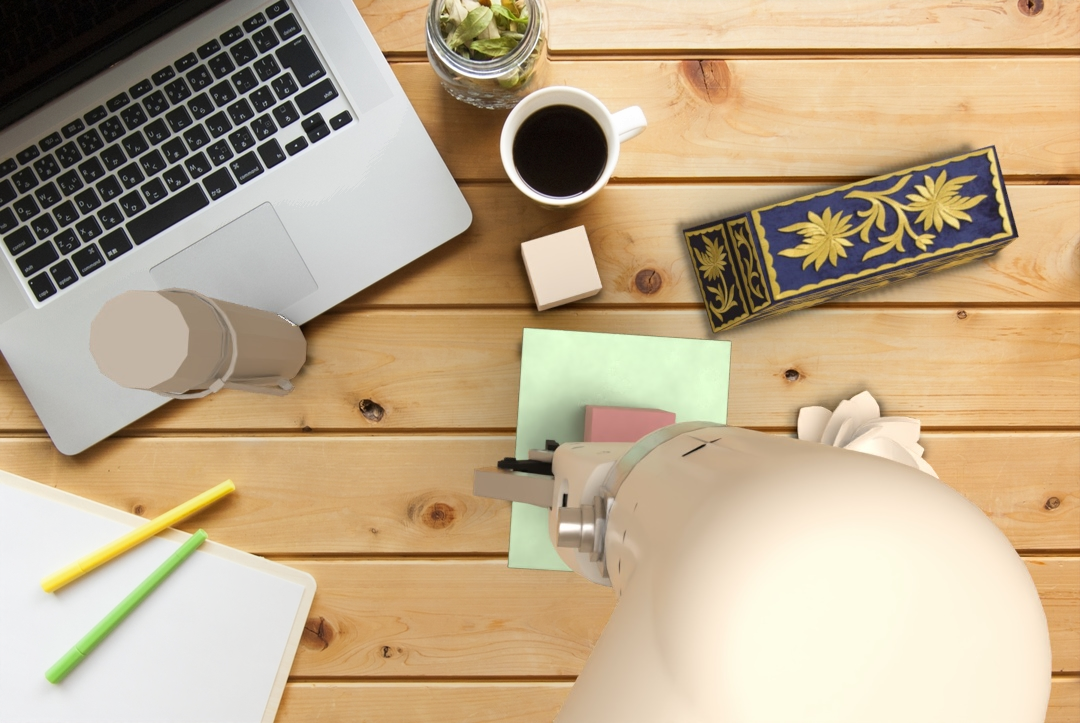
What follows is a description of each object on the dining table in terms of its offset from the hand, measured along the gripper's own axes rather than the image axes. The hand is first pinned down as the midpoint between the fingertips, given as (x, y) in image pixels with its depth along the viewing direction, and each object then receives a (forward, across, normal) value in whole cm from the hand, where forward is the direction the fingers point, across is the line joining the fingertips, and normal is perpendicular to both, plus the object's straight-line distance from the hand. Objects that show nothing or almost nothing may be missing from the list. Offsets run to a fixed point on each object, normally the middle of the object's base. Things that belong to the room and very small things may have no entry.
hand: (633, 472), depth 42 cm
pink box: (+6, 0, +1) cm, 7 cm away
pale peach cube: (+31, -4, +16) cm, 35 cm away
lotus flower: (+31, +26, -1) cm, 40 cm away
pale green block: (+31, 0, +1) cm, 31 cm away
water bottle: (+31, -31, +6) cm, 44 cm away
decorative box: (+30, +24, +21) cm, 44 cm away
